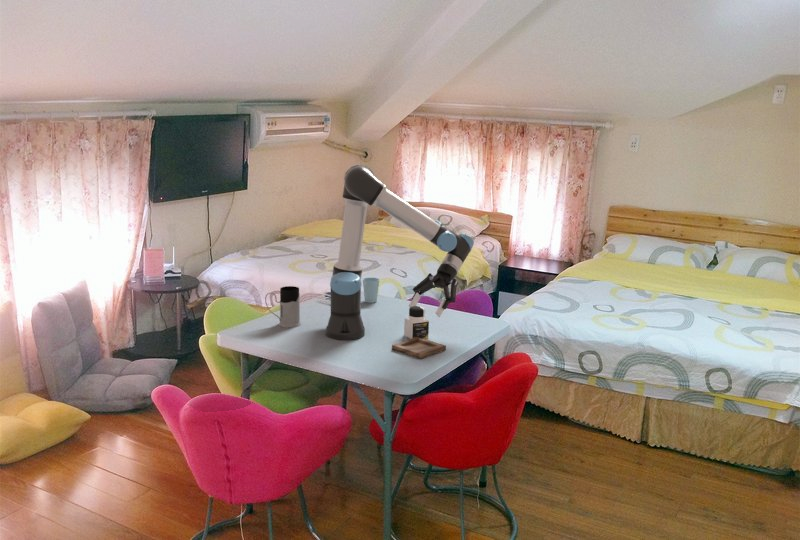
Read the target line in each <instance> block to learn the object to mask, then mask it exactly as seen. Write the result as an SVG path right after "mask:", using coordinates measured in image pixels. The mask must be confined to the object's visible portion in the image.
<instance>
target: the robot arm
mask: <svg viewBox="0 0 800 540" xmlns="http://www.w3.org/2000/svg"><path fill="white" fill-rule="evenodd" d="M344 174H345V175H344V177H343V180H344V183H343V192H342V199H343V200H344V202H345V206H344V211H343V213H344V214H343V220H342V228H341V229H342V230H341V237H340V242H339V243H340V244H339V252H338V259H337V262H335V263H334V264H333V269H332V276H331V277H330V283H329V285H330V316H329V319H328V323H327V325H326V327H325V335H326V336H327V337H329V338H331V339H334V340H339V341H340V340H345V341H349V340H356V339H360V338H363V337H364V336H365V334H366V333H365V331H366V329H365V328H366V327H365V325H364V322H363V318H362V315H361V309H362V308H361V306H362V303H361V302H362V297H361V296H362V295H361V294H362V292H361V291H362V273H363V267H362V265H361V264H360V260H361V255H362V254H361V253H362V246H363V239H364V234H365V233H364V231H365V226H366V218H367V211H368V210H367V209H368V205H369V206H370V207H373V206H375V207H377V208H378V209H380V210H381V211H384V212H385V213H386V214H387V215H389V216H391V217H392V218H393V219H395V220H396V221H398V222H399V223H401V224H403V225H404V226H406V227H408V228H409V229H410V230H412V231H413V232H415V233H417V234H418V235H419V236H421V237H423V238H424V239H426V240H427V241H429V242H430V243H432V244H433V245H435V247H437V248H438V249H439V250H440V251H442V252H447V253H446V255H445V257H444V258H443V260H442V262H441V264H440V265H439V266H438V268H437V271H436V274H434V275H433V274H432V273H428V275H427V276H426V277H425V278H424V279H423V280H422V281H420V282H418V283H417V285H416V286H414V287H413V288H412V291H413V292H414V294H413V296H412V298H411V301H410V303H409V305H408V307H409V308H410V307H412V306H417V304H418V302H419V301H420V299H421V298H422V296H421V295H423V294H425V293H426V292H428V291H431V290H432V289H435V288H438V289H442V290H443V295H444V298H443V299H442V300H441V302H440V305H438V307H437V309H436V311H435V315H436V316H437V317H438V318H440V317H441V316H442V314H443V313H444V310H446V309H447V308H448V306H449V304H451V303H452V304H453V303H456V300H457V298H456V297H457V287H458V285H459V282H458V281H457V279H456V277H457V275H458V273H459V271H460V269H461V267H462V266H463V264H464V262H465V260H466V259H467V257H468V256H469V254H470V253H471V251H472V249H473V247H474V245H475V243H474V242H475V241H474V239H473V238H472V236H470V235H468V234H466V233H464V232H463V233H462V232H461V233H459V234H457V233H455V232H454V231H453V230H451V229H450V228H449V227H447V226H446V225H445V224H444V223H443V222H442V221H441V222H440V220H438V219H435V220H434V219H433V218H431V217H429V216H428V215H427V214H425V213H424V212H422V211H420V210H418V209H417V208H416V207H415V206H413V205H411V204H410V203H408V202H407V201H406V200H404V199H402V198H401V197H399V196H398V195H396V194H395V193H393V192H392V191H390V190H389V189H387V186H386V184H385V183H383V182H381V180H379V179H378V177H376V176H375V173H374V172H373V170H372V169H370V168H369V167H368V166H366V165H364V164H363V165H362V164H356V165H353V166H351V167H350V168H348V169H347V171H346V172H345V173H344ZM449 286H450V289H449Z"/></svg>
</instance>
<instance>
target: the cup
mask: <svg viewBox="0 0 800 540" xmlns="http://www.w3.org/2000/svg"><path fill="white" fill-rule="evenodd" d="M362 286H363V287H362V288H363V296H364V297H363V298H364V302H365V303H367V302H369V303H370V304H372V303H373V304H374V302H375V303H377V301H378V296H379V295H378V294H379V286H380V278H377V277H364V278H362ZM369 303H368V304H369Z"/></svg>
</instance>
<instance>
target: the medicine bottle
mask: <svg viewBox="0 0 800 540" xmlns="http://www.w3.org/2000/svg"><path fill="white" fill-rule="evenodd" d="M425 313H426V309H425V307H423V306H421V305H416V306H412V307H409V308H408V317H404V325H403V326H404V327H403V328H404V329H403V330H404V331H403V335H404V336H405V337H407V338H408V339H412V338H415V337H420V338H423V339H428V338H429V331H430V330H429V329H430V328H429V326H430V321H429V320H428V319H427V318H425Z"/></svg>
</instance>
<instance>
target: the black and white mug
mask: <svg viewBox="0 0 800 540" xmlns="http://www.w3.org/2000/svg"><path fill="white" fill-rule="evenodd" d="M279 289H280V290H279V291H280V292H279V295H280V298H279V299H280V300H279V301H278V300H277V295H276V293H275V292H268V293H266V295H265V297H264V300H265V306H266V309H268V311H269V312H270V313H272V315H274V316H275V317H277V319H279V324H278V325H279V326H280V327H281V326H282V327H283V328H288V327H291V328H298V327H300V326H301V325H302V324H301V321H300V320H301V318H300V317H301V313H300V311H301V310H300V308H301V307H300V306H301V305H300V303H301V302H300V299H301V298H300V296H301V295H300V287H299V286H293V285H292V286H291V285H289V286H288V285H287V286H286V285H285V286H281V287H280V288H279ZM270 294H272V295H274V297H275V299H274V300H275V302H276V303H277V304H279V315H277V314H275V312H273V311H272V310H271V309H270V308H269V306H268V303H267V296H268V295H270Z"/></svg>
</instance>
